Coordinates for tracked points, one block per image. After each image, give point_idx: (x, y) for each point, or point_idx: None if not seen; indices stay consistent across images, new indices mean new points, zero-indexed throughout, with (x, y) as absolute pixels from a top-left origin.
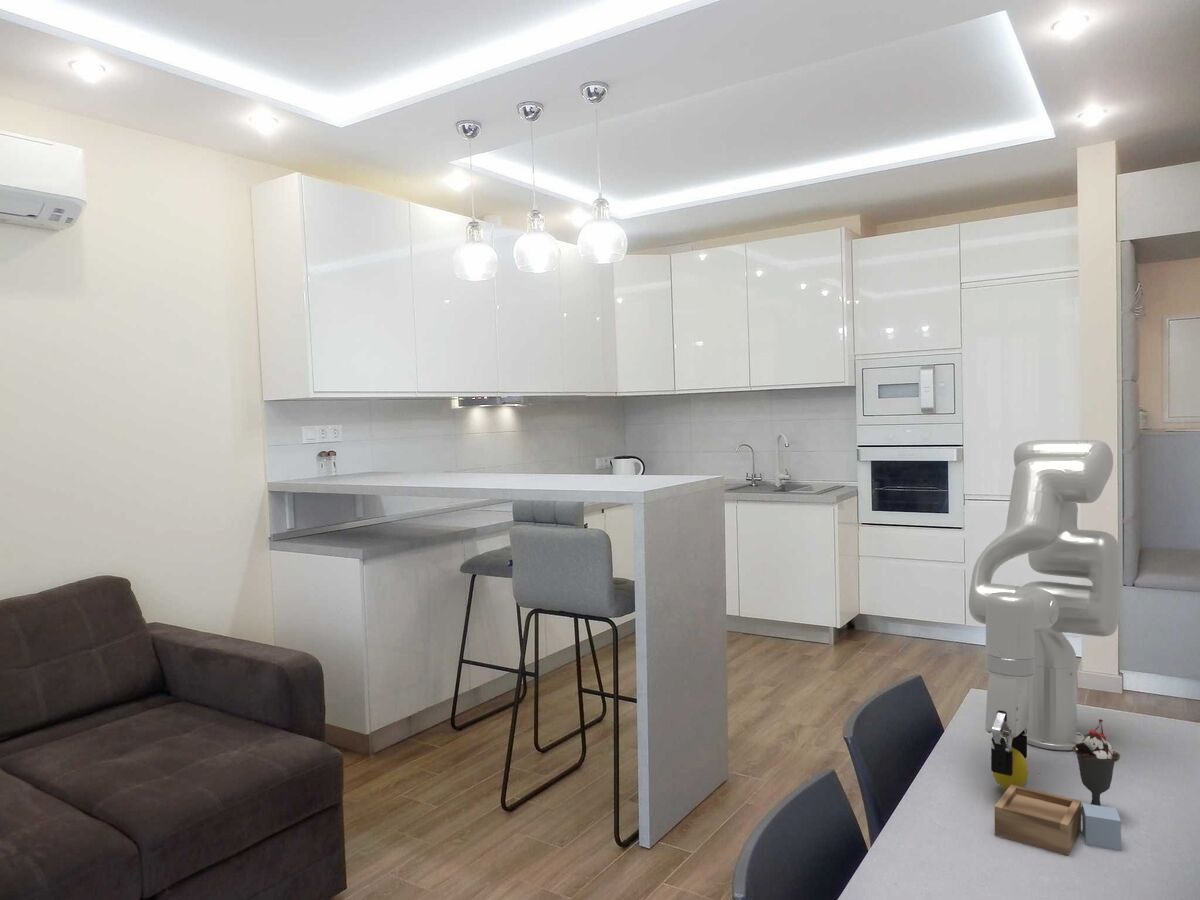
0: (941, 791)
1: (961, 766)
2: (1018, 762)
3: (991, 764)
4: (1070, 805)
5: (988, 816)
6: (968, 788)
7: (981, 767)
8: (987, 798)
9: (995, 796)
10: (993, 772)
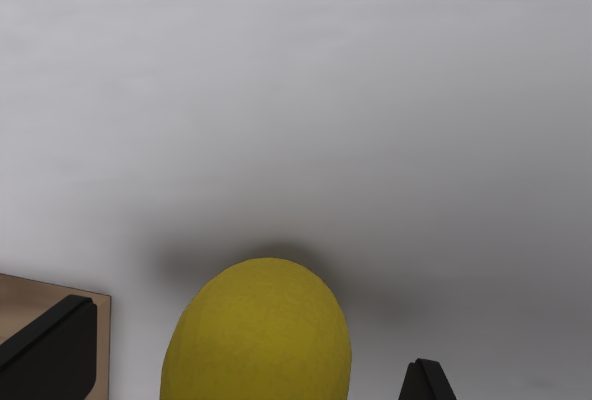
0: (138, 29)
1: (500, 72)
2: None
3: (42, 314)
4: None
5: (25, 229)
6: (235, 137)
7: (523, 166)
8: (176, 216)
9: (211, 242)
10: (227, 269)
